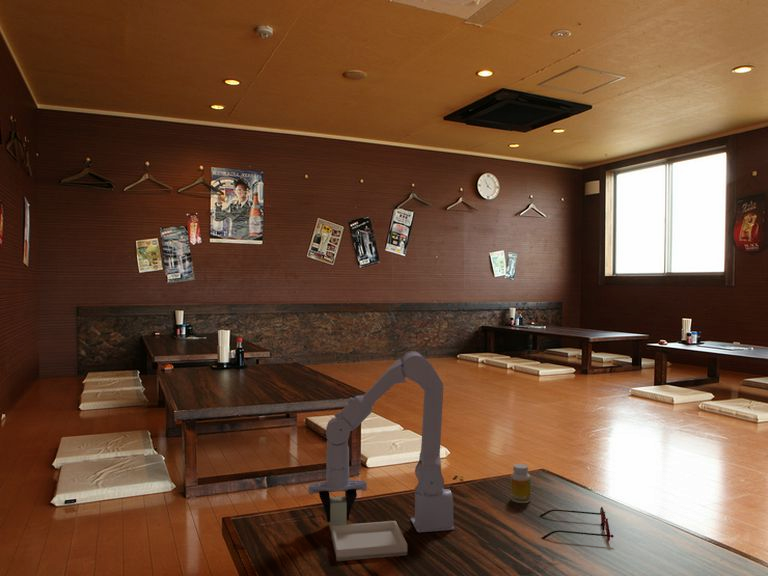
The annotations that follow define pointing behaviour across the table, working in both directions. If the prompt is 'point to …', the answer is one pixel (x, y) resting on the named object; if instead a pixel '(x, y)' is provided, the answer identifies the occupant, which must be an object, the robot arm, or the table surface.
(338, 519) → the sage block
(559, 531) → the glasses
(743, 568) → the table surface
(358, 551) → the serving tray
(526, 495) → the supplement bottle
